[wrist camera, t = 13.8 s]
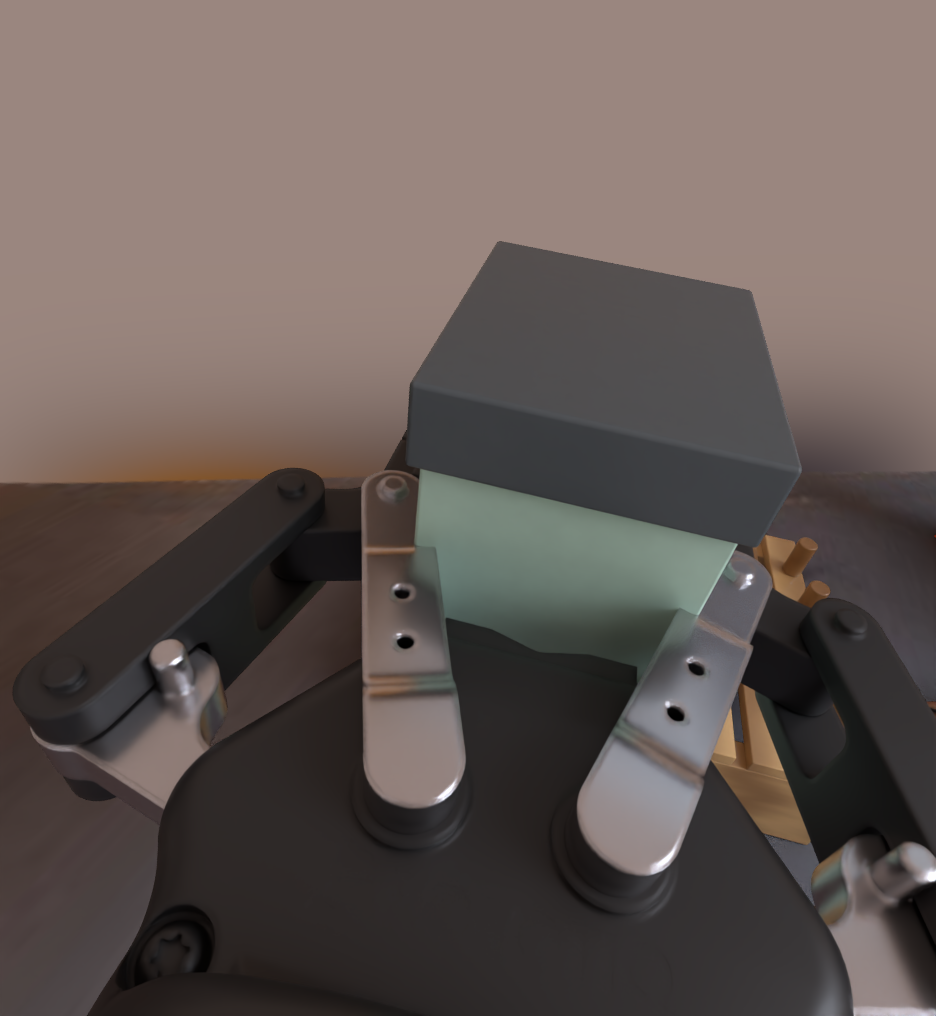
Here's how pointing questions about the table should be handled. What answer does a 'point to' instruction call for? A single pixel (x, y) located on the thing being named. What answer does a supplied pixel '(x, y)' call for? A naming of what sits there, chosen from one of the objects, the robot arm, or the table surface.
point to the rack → (756, 759)
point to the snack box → (594, 450)
